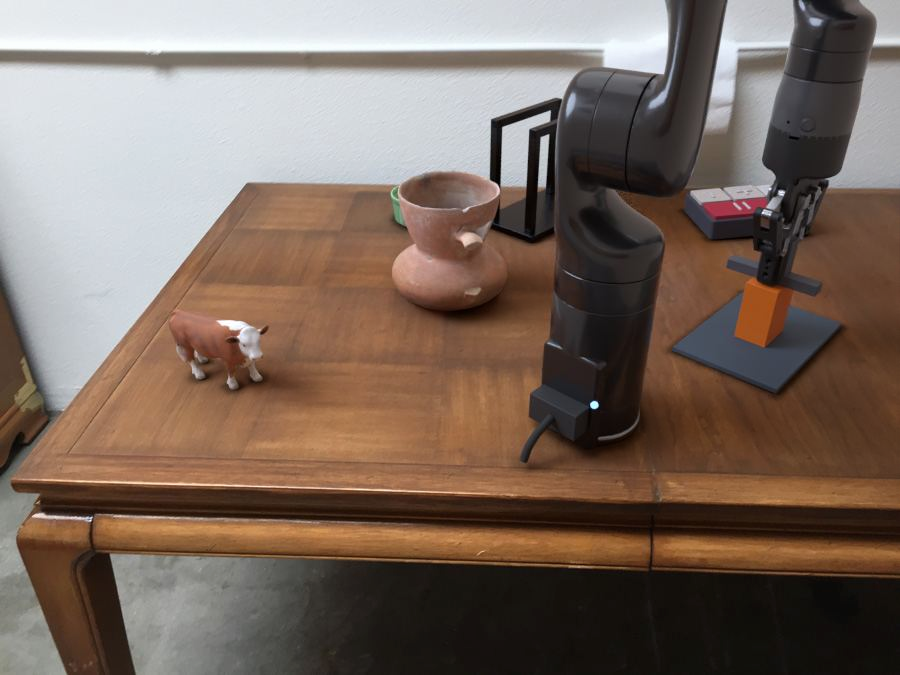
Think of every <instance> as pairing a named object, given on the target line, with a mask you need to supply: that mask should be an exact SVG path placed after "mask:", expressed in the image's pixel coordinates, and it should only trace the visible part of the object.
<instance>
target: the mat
mask: <svg viewBox="0 0 900 675" xmlns="http://www.w3.org/2000/svg"><path fill="white" fill-rule="evenodd" d="M743 295H744V290H743V291H742V292H740V293H739V294H738V295H737V296H735V297H734V298H732V299H731V300H730V301H729V302H728V303H727V304H725V305H724V306H722V308H720V309H719V310H718V311H716V312H715V313H714V314H713V315H711V316H710V317H709V318H707V319H706V320H705V321H704V322H702V323H701V324H700V325H699V326H697V327H696V328H694V329H693V330H692V331H691V332H689V334H687V335H686V336H684V337H683V338H682V339H681V340H679V341H678V342H677V343H676V344H674V345H673V346H672V350H671V351H672V352H674V353H677V354H679V355H681V356H684V357H686V358H689V359H691V360H693V361H696V362H698V363H700V364H703V365H706V366H707V367H710V368H713V369H715V370H717V371H719V372H721V373H724V374H727V375H729V376H732V377H734V378H737V379H739V380H741V381H744V382H747V383H749V384H751V385H754V386H755V387H759V388H761V389H763V390H766V391H768V392H770V393H772V394H776V395H777V393H778V392H779V391H780V390H782V388H784V386H785V385H786V384H787V383H788V382H789V381H790V380H791V379H792V378H793V377H794V376H795V375H796V374H797V373H798V372H799V371H800V370H801V369H802V368H803V367H804V366H805V365H806V363H807V362H808V361H809V360H811V359H812V358H813V356H815V354H817V352H818V351H819V350H820V349H821V348H822V347H823V346H824V345H825V344H826V343H827V342H828V341H829V340H830V339H831V338H832V337H833V336H834V335H835V334H836V333H837V332H838V331H839V330H840V329H841V328H842V324H843V323H842V322H840V321H837V320H834V319H831V318H828V317H825V316H822V315H819V314H816V313H815V312H811V311H807V310H804V309H802V308H799V307H796V306H793V305H791V304H790V305H789V309H788V313H787V317H786V320H785V324H784V328H783V331H782V332H781V333H780V334H779V335H777V336H776V337H775V338H774V339H773V340H772V341H771V342H770V343H769V344H768V345H767V346H766V347H765V348H764V347H761V346H758V345H756V344H753V343H750V342H748V341H745V340H742V339H740V338H737V337H735V336H734V335H735V330H736V326H737V321H738V317H739V313H740V308H741V304H742V299H743Z"/></svg>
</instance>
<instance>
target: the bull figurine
mask: <svg viewBox="0 0 900 675" xmlns="http://www.w3.org/2000/svg"><path fill="white" fill-rule="evenodd" d="M168 327H169V331H170V333H171V335H172V337H173V340H174V344H175V349H176V353H177V355H178V356H179V357H180V359H181V360H182V361H183V363H189V365H190V367H191V373H192V375H194V376H195V378H196V380H204V379H206V377H207V375H206V373H205V372H204V371H203V370H202V369H201V367H199V365H198V363H197V362H196V359H195V358H197V359H198V361H199V363H200V364H206V363H207V362H208V361H209V360H214V361H216V360H218V361H222V362H223V364H224V366H225V369H226V372H227V376H228V378H227V381H226V384H227V385H228V388H229V389H230V390H234V391H235V390H237V389H239V386H240V385H239V383H238V381H237V380H236V377H235V374H236V367H237V366H238V367H240V368H246V367H247V368H248V370H249V377H250V378H252V381H253V382H254V383H258V382H261V381H263V376H262V374H261V375H260V373H259V372H258V370H257V369H256V366H255V362H258V361H261V360H263V359H264V356H265V355H264V353H263V351H262V347H261V336H263V335H265V334H266V333H267V332H268V331H269V328H270V325H268V324H265V325H263V326H261V327H260V328H259V329H257V328H256V327H254V326H252V325H249V324H248V323H247V322H245V321H242V320H235V319H234V320H233V319H224V318H219V317H216V316H211V315H209V314H206V313H203V312H198V311H193V310H189V309H187V310H186V309H179V308H177V309H174V310H173V311H171V312H170V317H169V320H168Z"/></svg>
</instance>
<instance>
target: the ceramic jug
mask: <svg viewBox="0 0 900 675" xmlns="http://www.w3.org/2000/svg"><path fill="white" fill-rule="evenodd" d="M399 185H400V186H399ZM399 185H398V186H399V188H398V199H399V204H400V208H401V212H402V215H403V218H404V221H405V224H406V226H407V227H406V228H407V231H408V233H409V235H410V237H411V239H412V240H413V242H414V243H412V244H411V245H409V246H408V247H406V248H405V249H404V250H402V251H401V252H400V253H399V254H398V256H397V257H396V258H395V260H394V262H393V265H392V268H391V278H392V282H393V284H394V287H395V288H396V290H397V291H398V293H399V294H400V295H401V296H402V297H404V298H405V300H408V301H409V302H410V303H413V304H415V305H417V306H419V307H423V308H425V309H430V310H436V311H461V310H467V309H471V308H476V307H478V306H481V305H483V304H485V303H487V302H489V301H491V300H492V299H493V298H495V297H496V296H497V295H498V294H499V293H500V292H501V291H502V289H503V288H504V286H505V284H506V281H507V278H508V267H507V263H506V261H505V259H504V257H503V256H502V255H501V254H500V253H499V252H498V251H497V250H495V249H494V248H493V247H491V246H490V245H488V244H486V243H484V242H486V238H487V236H488V234H489V232H490V230H491V228H490V227H491V225H492V222H493V220H494V217H495V214H496V211H497V208H498V204H499V199H500V200H501V190H500V188H499V186H498V185H497V184H496V183H494V182H492V181H491V180H490V178H485V177H484V176H481V175H479V174H478V175H477V174H475V173H470V172H465V171H459V170H444V171H443V170H432V171H426V172H422V173H420V174H417V175H413V176H410V177H408V178H407V179H405V180H404V181H402V182H401V183H400V184H399Z"/></svg>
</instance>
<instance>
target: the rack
mask: <svg viewBox="0 0 900 675" xmlns="http://www.w3.org/2000/svg"><path fill="white" fill-rule="evenodd" d="M562 99H563V98H560V97H552V98H550V99H548V100H544V101H541V102H538V103H535V104H531V105H529V106H526V107H523V108H520V109H517V110H514V111H511V112H508V113H505V114H503V115H499V116H496V117H493V118H491V119H490V138H489V139H490V143H489V144H490V145H489V148H490V149H489V180H491V181H492V182H494V183H496V184H497V185H498V186H499V188H500V191H502V190H501V189H502V188H501V186H502V185H501V184H502V157H503V156H502V155H503V154H502V151H503V128H504V127H507V126H510V125H513V124H516V123H519V122H521V121H525V120H527V119H530V118H533V117H536V116H538V115H542V114H545V113H548V112H550V116H549V121H548V122H544V123H542V124H539V125H537V126H533V127H531V128H529V129H528V144H527V145H528V146H527V168H526V183H525V184H526V186H525V187H526V188H525V198H522V199H520V200H518V201H515V202H513V203H510V204H509V205H507V206H504V207H502V208H501V198H500V199H499V204H498V208H497V211H496V214H495V217H494V220H493V222H492V225H491V227H490V230H491V229H492V230H494V231H497V232H499V233H501V234H504V235H506V236H510V237H513V238H516V239H519V240H520V241H524V242H526V243H529V244H533V243H536V242H538V241H540V240H542V239H543V238H545V237H547V236H549V235H551V234H553V233H554V209H555V148H556V131H557V123H558V115H559V111H560V107H561V103H562ZM546 136H548V146H547V147H548V148H547V161H546V162H547V163H546V178H545V188H544V189H542V190H540V191H539V175H540V174H539V173H540V157H541V139H542V138H543V137H546Z"/></svg>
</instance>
